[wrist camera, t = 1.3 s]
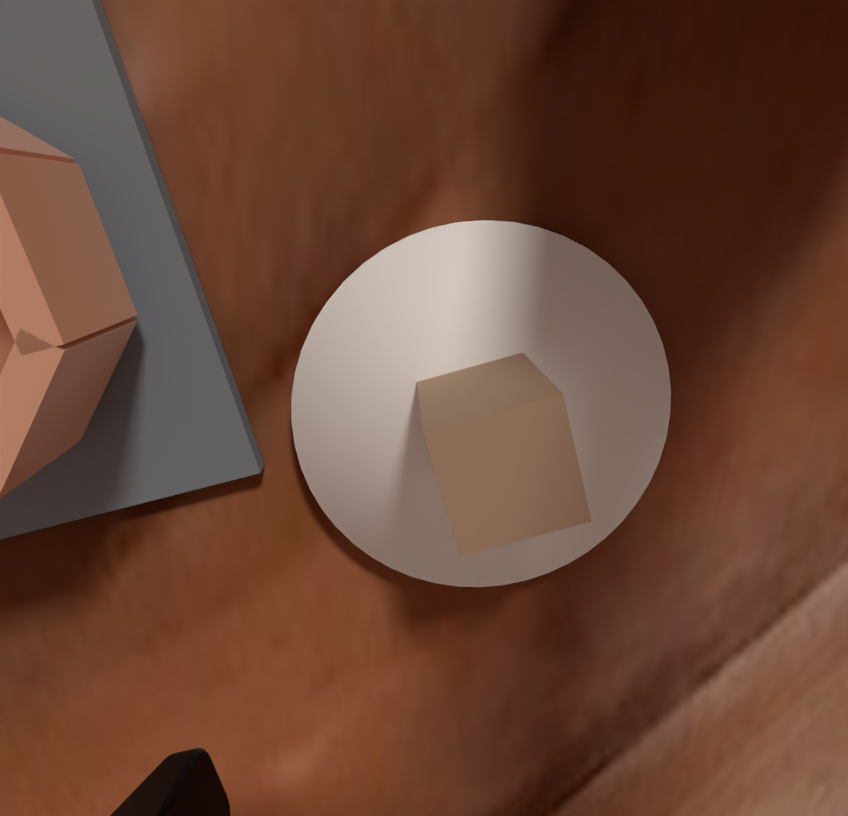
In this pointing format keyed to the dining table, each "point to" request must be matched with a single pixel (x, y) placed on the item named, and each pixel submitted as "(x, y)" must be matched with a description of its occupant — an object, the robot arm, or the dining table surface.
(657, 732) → the dining table surface
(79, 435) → the bowl
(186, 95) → the dining table surface
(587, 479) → the lid
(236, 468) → the mat
